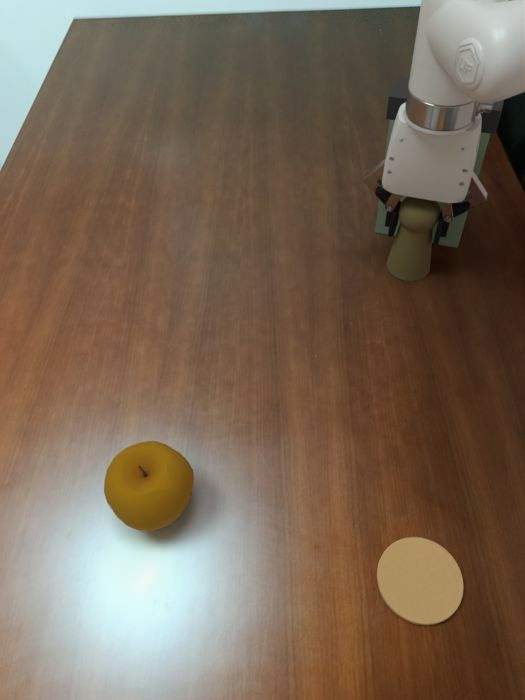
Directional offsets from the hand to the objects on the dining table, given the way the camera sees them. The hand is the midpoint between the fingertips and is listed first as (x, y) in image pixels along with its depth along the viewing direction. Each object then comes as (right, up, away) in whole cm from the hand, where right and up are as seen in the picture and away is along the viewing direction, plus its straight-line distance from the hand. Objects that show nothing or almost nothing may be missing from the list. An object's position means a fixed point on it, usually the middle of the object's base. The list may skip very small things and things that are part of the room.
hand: (414, 233), depth 77 cm
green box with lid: (+3, +2, +9) cm, 10 cm away
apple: (-31, -32, -15) cm, 47 cm away
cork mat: (-5, -37, -21) cm, 43 cm away
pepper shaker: (0, -4, +5) cm, 6 cm away
